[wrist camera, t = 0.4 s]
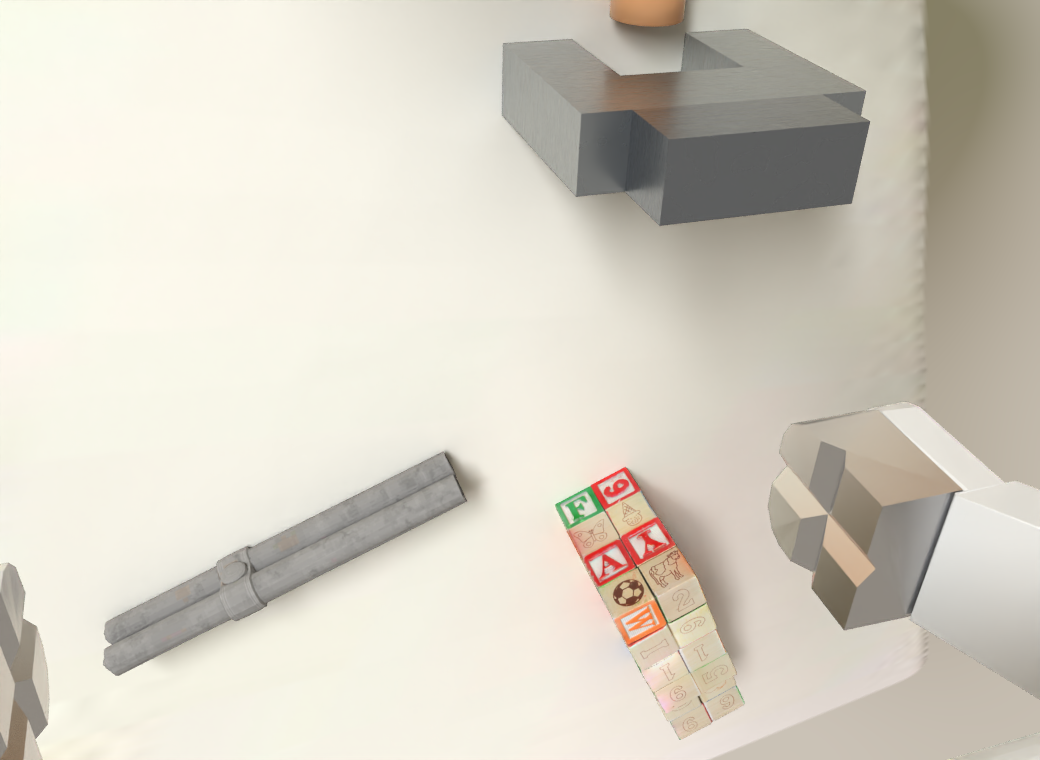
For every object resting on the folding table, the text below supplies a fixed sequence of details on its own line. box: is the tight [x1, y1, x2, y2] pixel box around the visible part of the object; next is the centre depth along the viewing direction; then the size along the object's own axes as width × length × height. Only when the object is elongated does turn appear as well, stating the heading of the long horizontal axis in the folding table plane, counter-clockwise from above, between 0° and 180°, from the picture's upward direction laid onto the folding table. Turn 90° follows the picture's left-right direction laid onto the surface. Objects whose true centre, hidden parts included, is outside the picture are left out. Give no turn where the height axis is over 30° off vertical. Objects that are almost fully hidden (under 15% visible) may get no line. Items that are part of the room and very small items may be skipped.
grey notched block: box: [502, 29, 870, 226], centre depth 51 cm, size 4×15×16 cm, turn 88°
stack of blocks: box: [555, 467, 745, 740], centre depth 76 cm, size 21×6×12 cm, turn 22°
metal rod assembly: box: [103, 452, 467, 676], centre depth 66 cm, size 26×3×5 cm, turn 110°
